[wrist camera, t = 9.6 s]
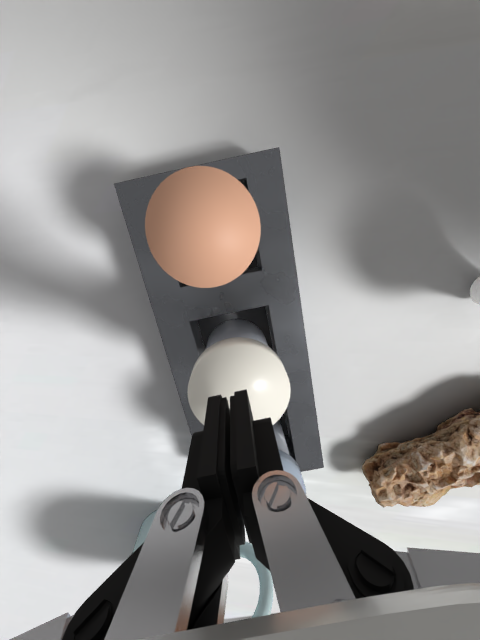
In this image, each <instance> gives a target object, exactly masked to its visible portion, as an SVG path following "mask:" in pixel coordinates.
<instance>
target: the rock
mask: <svg viewBox="0 0 480 640" xmlns="http://www.w3.org/2000/svg"><path fill="white" fill-rule="evenodd" d="M362 470H363V473H364V475H365V477H366V478H367V480H368V481H369V483H370V484H369V486H370V487H371V490H372V495H373V496H374V498H375V500H376V502H377V503H378V504H380V505H381V506H382V507H385V506H391V507H392V506H394V505H396V504H401V505H403V506H407V507H408V506H419V507H422V506H423V507H426V506H430V505H433V504H435V503H436V502H437V501H438V500H439V499H440V498H441V496H443V495H445V494H446V493H447V492H448V491H449V490H450V489H452V488H458V487H463V486H466V487H472V486H474V485H480V412H475V411H474V410H473V409H472V408H470V409H465V410H462V411H461V412H460V413H458V414H457V415H456V416H454V417H452V418H449V419H448V420H446V421H445V422H442V423H441V424H439V425H438V426H437V431H436V432H435V433H433V434H430V435H428V436H426V437H422V438H415V439H413V440H412V441H406V442H404V443H398V442H392V443H382V444H380V445H378V450H377V452H376V453H375V454H374V456H372V457H371V458H369V459H367V460H366V461H365V462H364V464H363V466H362Z"/></svg>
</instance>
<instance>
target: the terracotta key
mask: <svg viewBox="0 0 480 640" xmlns="http://www.w3.org/2000/svg"><path fill="white" fill-rule="evenodd" d="M145 232H146V238H147V242H148V245H149V248H150V251H151V253H152V255H153V257H154V258H155V260H156V261H157V263H158V264H159V265H160V267H161V268H162V269H163V270H164V271H165V272H166V273H167V274H168V275H170V276H171V277H173V278H174V279H176V280H177V281H179V282H181V283H184V284H186V285H189V286H193V287H199V288H212V287H218V286H221V285H224V284H227V283H229V282H231V281H233V280H234V279H236V278H237V277H238V276H240V275H241V274H242V273H243V272H244V271H245V270H246V269H247V268H248V266H249V265H250V264H251V262H252V260H253V259H254V257H255V254H256V252H257V249H258V246H259V242H260V235H261V225H260V217H259V213H258V209H257V207H256V204H255V202H254V200H253V198H252V196H251V194H250V193H249V192H248V190H247V189H246V188H245V187H244V185H243V184H242V183H241V182H240V181H238V180H237V179H236V178H235V177H233V176H232V175H230V174H229V173H227V172H225V171H223V170H220V169H217V168H214V167H208V166H193V167H187V168H184V169H181V170H179V171H177V172H174V173H173V174H171V175H170V176H168V177H167V178H166V179H165V180H164V181H162V182H161V184H160V185H159V186H158V187H157V188H156V190H155V191H154V193H153V195H152V197H151V199H150V201H149V204H148V207H147V210H146V217H145Z"/></svg>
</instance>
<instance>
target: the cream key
mask: <svg viewBox="0 0 480 640" xmlns="http://www.w3.org/2000/svg"><path fill="white" fill-rule="evenodd" d="M246 389H247V393H248V397H249V402H250V406H251V411H252V415H253V420H259V419H264V418H269V417H271V421H272V425H274V424H275V423H276V422H277V421H278V420H279V419H280V418H281V416H282V415H283V414H284V412H285V410H286V408H287V406H288V403H289V399H290V391H291V389H290V382H289V378H288V375H287V373H286V371H285V368H284V366H283V364H282V362H281V360H280V358H279V357H278V355H277V354H276V353H275V352H274V351H273V350H272V349H271V348H270V347H268V344H267V342H266V339H265V336H264V334H263V332H262V331H261V330H260V328H259V327H257V326H256V325H255V324H254V323H252V322H250V321H247V320H243V319H231V320H227V321H225V322H222V323H221V324H219V325H218V326H216V327H215V328H214V330H213V331H212V332H211V334H210V336H209V338H208V342H207V346H206V350H205V351H204V352H203V353H202V354H201V355H200V356H199V358H198V359H197V361H196V363H195V365H194V367H193V370H192V373H191V376H190V380H189V384H188V401H189V405H190V407H191V410H192V412H193V413H194V415H195V416H196V418H197V419H198V420H199V421H200V422H201V423H202V424H203V425H204V422H205V415H206V408H207V401H208V397H211V396H216V395H221V396H222V398H224V397H227V400H228V404H229V408H230V396H234V392H236V391H241V390H246Z"/></svg>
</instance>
